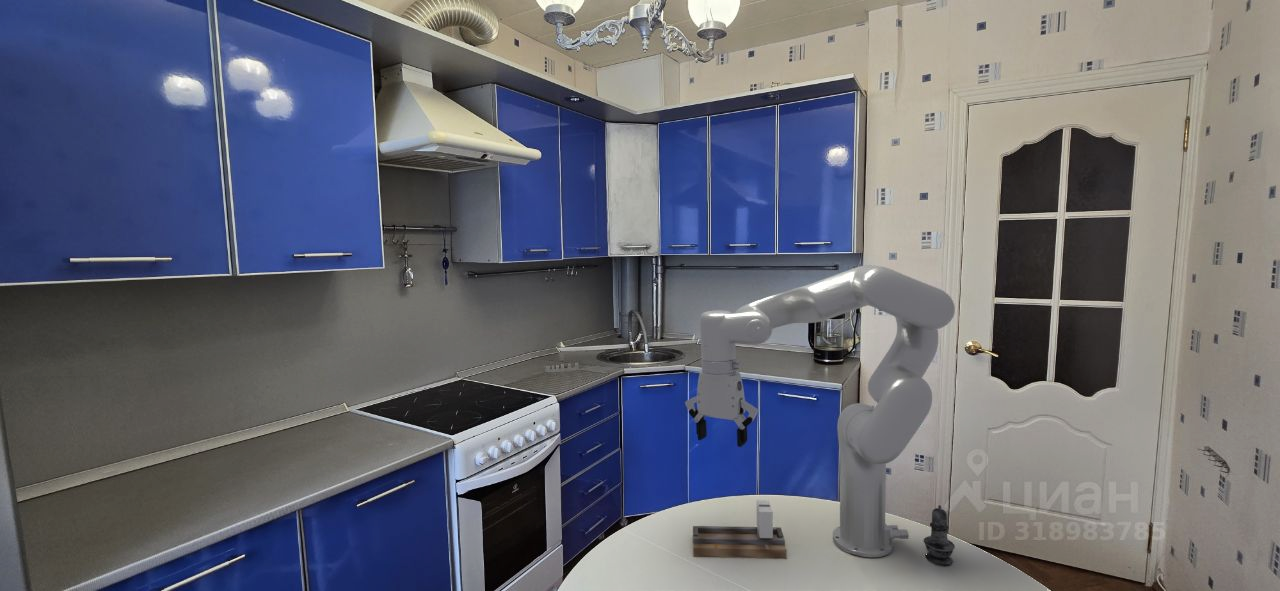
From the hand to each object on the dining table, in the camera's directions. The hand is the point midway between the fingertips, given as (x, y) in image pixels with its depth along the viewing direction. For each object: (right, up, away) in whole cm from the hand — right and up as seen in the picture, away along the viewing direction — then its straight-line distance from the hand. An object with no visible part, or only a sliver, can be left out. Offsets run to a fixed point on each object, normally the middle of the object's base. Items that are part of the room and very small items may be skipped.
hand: (721, 441), depth 125 cm
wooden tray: (+4, -24, +1) cm, 24 cm away
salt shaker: (+45, -24, -6) cm, 51 cm away
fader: (+10, -22, 0) cm, 24 cm away
